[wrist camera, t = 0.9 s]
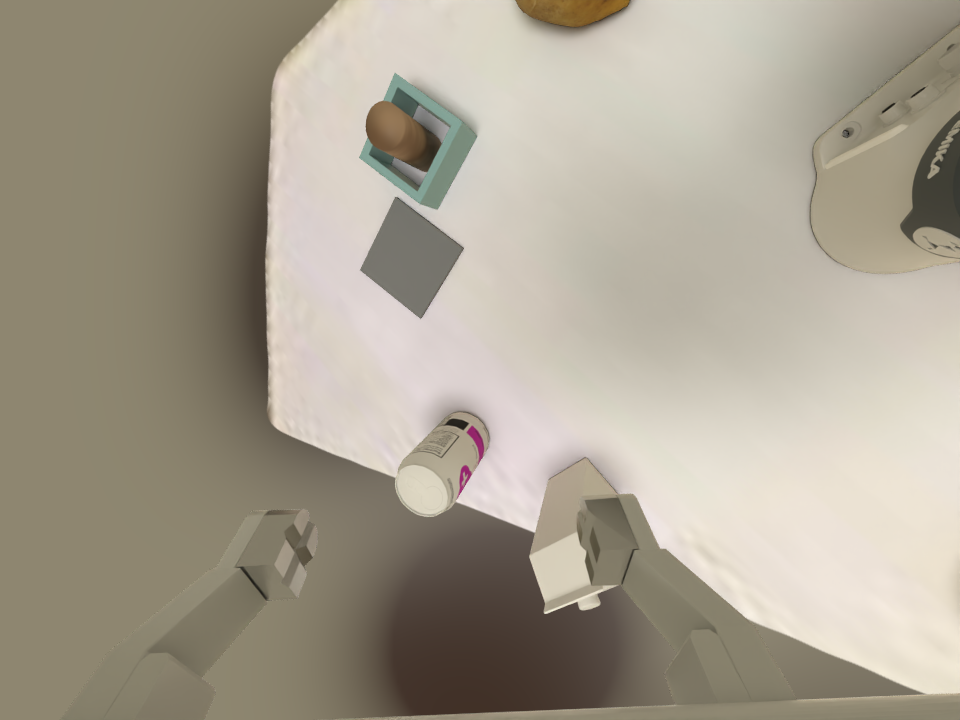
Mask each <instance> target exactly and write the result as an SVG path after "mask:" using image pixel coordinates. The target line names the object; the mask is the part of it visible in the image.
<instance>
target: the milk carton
mask: <svg viewBox="0 0 960 720" xmlns="http://www.w3.org/2000/svg"><path fill="white" fill-rule="evenodd" d="M607 494H614V495H616V494H617V493H616V492H615V491H614V489H613V488H612V487H611V486H610V485H609V484H608V482H607V481H606V480H605V479H604V478H603V477H602V476H601V474H600V473H599V472H598V471H597V470H596V469H595V467H594V466H593V465H592V464H591V463H590V462H589V460H588V459H587V458H584V459H582V460H581V461H579V462H577V463H576V464H574V465H572V466H571V467H569V468H567V469H566V470H564V471H562V472H561V473H559V474H557V475H556V476H554V477H553V478H551V479H549V480H548V483H547V487H546V491H545V496H544V500H543V504H542V508H541V512H540V516H539V520H538V524H537V528H536V532H535V536H534V540H533V544H532V548H531V552H530V556H529V557H530V560H531V563H532V566H533V569H534V572H535V575H536V578H537V580H538V584H539V586H540V589H541V592H542V595H543V598H544V601H545V608H544V613H545V614H547V613H549V612H552V611H554V610H557V609H559V608H562V607H564V606H567V605H569V604H572V603H575V602H578V605H579V608H580V609H581V610H587V609H592V608H595V607H597V606H599V605H600V600H599V598H598V595H597V593H600V592H603V591H605V590H607V589H610V588H612V587H615V586H618V585H607V586H591V583H590V579H589V575H588V572H587V568H586V564H585V557H586V551H585V550H584V549H583V548H582V547H581V546H580V542H579V538H578V533H577V522H576V519H577V513H578V512H579V511H580V510H581V509H580V506H579V500H580V497H581V496H591V495H607Z"/></svg>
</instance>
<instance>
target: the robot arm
mask: <svg viewBox="0 0 960 720" xmlns="http://www.w3.org/2000/svg"><path fill="white" fill-rule="evenodd" d="M844 130H848V131H849V136H848V138H844V137H843V136H842V132H843V131H844ZM813 157H814V163H815V167H816V171H817V181H816V186H815V190H814V194H813V197H812V203H811V224H812V229H813V232H814V235H815V237H816V239H817V241H818V243H819V244H820V246H821V247H822V248H823V250H824V251H825V252H826V253H827V254H828V255H829V256H830V257H832V258H833V259H834V260H836V261H837V262H839V263H841V264H843V265H845V266H847V267H849V268H852V269H855V270H858V271H862V272H868V273H876V274H894V273H904V272H910V271H914V270H919V269H923V268H927V267H931V266H936V265H943V264H949V263H955V262H960V25H958V26H957V27H956V28H955V29H953V30H952V31H951V32H950V33H949V34H947V35H946V36H945V37H944V38H942V39H941V40H940V41H939V42H937V43H936V44H935V45H934V46H932V47H931V48H930V49H929V50H927V51H926V52H925V53H924V54H922V55H921V56H920V57H919V58H917V59H916V60H915V61H914V62H912V63H911V64H910V65H909V66H907V67H906V68H905V69H904V70H902V71H901V72H900V73H899V74H897V75H896V76H895V77H894V78H892V79H891V80H890V81H889V82H887V83H886V84H885V85H884V86H883V87H881V88H880V89H879V90H878V91H876V92H875V93H874V94H873V95H871V96H870V97H869V98H868V99H866V100H865V101H864V102H863V103H861V104H860V105H859V106H858V107H856V108H855V109H854V110H853V111H851V112H850V113H849V114H848V115H846V116H845V117H844V118H843V119H841V120H840V121H839V122H838V123H836V124H835V125H834V126H833V127H831V128H830V129H829V130H828V131H826V132H825V133H824V134H823V135H822V136H821V137H819V139H818V140H817V141H816V143H815V145H814V148H813ZM579 506H580V509H581V510H580V511H579V512H578V513H577V519H576V522H577V533H578V538H579V542H580V546H581V547H582V548H583V549H584V550H585V551H586V557H585V564H586V568H587V572H588V575H589V579H590V583H591V586H607V585H622V588H623V589H624V590H625V592H626V593H627V594H628V595H629V596H630V598H631V599H632V600H633V601H634V602H635V604H636V605H637V606H638V607H639V608H640V610H641V611H642V612H643V613H644V614H645V616H646V617H647V618H648V619H649V620H650V621H651V623H652V624H653V625H654V626H655V627H656V629H657V630H658V631H659V632H660V633H661V635H662V636H663V637H664V638H665V639H666V641H667V642H668V643H669V644H670V645H671V647H672V648H673V649H674V650H675V651H676V653H677V654H676V656H675V657H674V659H673V660H672V662H671V664H670V665H669V666H668V668H667V670H666V672H665V674H664V675H665V678H666V681H667V683H668V686H669V689H670V692H671V695H672V697H673V701H674V703H675V705H665V706H643V707H642V706H641V707H618V708H617V707H616V708H594V709H569V710H545V711H522V712H498V713H473V714H450V715H428V716H427V715H425V716H403V717H378V718H354V719H332V720H960V693H958V694H926V695H903V696H879V697H855V698H832V699H807V700H797V698H796V696H795V694H794V693H793V691H792V689H791V688H790V686H789V684H788V682H787V681H786V679H785V677H784V676H783V674H782V672H781V670H780V669H779V667H778V665H777V663H776V662H775V660H774V658H773V656H772V655H771V653H770V651H769V650H768V648H767V646H766V645H765V643H764V641H763V639H762V637H761V636H760V634H759V632H758V630H757V629H756V627H755V626H754V625H753V624H752V623H751V622H750V621H749V620H747V619H746V618H745V617H744V616H743V615H742V614H740V613H739V612H738V611H737V610H736V609H735V608H734V607H732V606H731V605H730V604H729V603H728V602H727V601H725V600H724V599H723V598H722V597H721V596H720V595H718V594H717V593H716V592H715V591H714V590H713V589H712V588H710V587H709V586H708V585H707V584H706V583H705V582H703V581H702V580H701V579H700V578H699V577H698V576H696V575H695V574H694V573H693V572H692V571H691V570H690V569H688V568H687V567H686V566H685V565H684V564H683V563H681V562H680V561H679V560H678V559H677V558H676V557H674V556H673V555H672V554H671V553H670V552H669V551H668V550H666V549H660V548H659V545H658V543H657V541H656V539H655V537H654V535H653V532H652V530H651V528H650V526H649V524H648V522H647V520H646V517H645V515H644V513H643V511H642V509H641V507H640V504H639V502H638V500H637V498H636V497H635V496H634V495H633V494H616V495H614V494H607V495H591V496H581V497H580V500H579ZM309 517H310V515H309V513H308V511H307V510H306V509H295V510H262V511H252V512H251V513H250V514H249V515H248V516H246V518H245V520H244V521H243V523H242V525H241V526H240V528H239V530H238V531H237V533H236V535H235V536H234V538H233V540H232V541H231V543H230V545H229V547H228V548H227V550H226V551H225V553H224V555H223V557H222V558H221V560H220V561H219V563H218V565H217V567H216V568H215V569H209V570H208V571H207V572H206V573H204V574H203V575H202V576H201V577H200V578H199V579H197V580H196V581H195V582H193V583H192V584H191V585H190V586H189V587H187V588H186V589H185V590H184V591H183V592H181V593H180V594H179V595H178V596H176V597H175V598H174V599H173V600H171V602H169V603H168V604H167V605H165V606H164V607H163V608H162V609H161V610H159V611H158V612H157V613H156V614H155V615H153V616H152V617H151V618H150V619H148V620H147V621H146V622H145V623H143V624H142V625H141V626H140V627H139V628H137V629H136V630H135V631H134V632H132V633H131V634H130V635H129V636H128V637H126V638H125V639H124V640H123V641H121V643H119V644H118V645H117V646H115V647H114V648H113V649H112V650H111V651H109V652H108V653H107V654H106V656H105V657H104V659H103V660H102V661H101V663H100V664H99V666H98V667H97V669H96V670H95V671H94V673H93V674H92V676H91V677H90V678H89V680H88V682H87V683H86V684H85V685H84V687H83V688H82V690H81V691H80V692H79V694H78V695H77V697H76V698H75V700H74V701H73V702H72V704H71V705H70V707H69V708H68V710H67V711H66V712H65V714H64V715H63V717H62V718H61V719H60V720H204V719H205V717H206V715H207V713H208V710H209V708H210V706H211V704H212V701H213V699H214V697H215V695H216V692H215V688H214V687H213V686H212V685H210V684H209V683H208V682H206V681H205V680H204V679H202V677H203V676H204V675H205V673H206V672H207V671H208V670H209V669H210V668H211V667H212V665H213V664H214V663H215V662H216V661H217V660H218V659H219V658H220V656H221V655H222V654H223V653H224V652H225V651H226V649H227V648H228V647H229V646H230V645H231V644H232V643H233V641H234V640H235V639H236V638H237V637H238V636H239V634H241V632H242V631H243V630H244V629H245V628H246V627H247V626H248V624H249V623H250V622H251V621H252V620H253V619H254V618H255V616H256V615H257V614H258V613H259V612H260V611H261V610H262V608H263V607H264V606H265V605H266V604H267V601H272V600H285V599H297V598H298V596H299V593H300V591H301V588H302V585H303V583H304V580H305V577H306V575H307V572H306V569H305V565H306V564H307V563H308V562H309V561H310V560H311V559H312V558H313V556H314V553H315V550H316V548H317V540H318V533H317V529H316V527H315V525H314V524H313V523H311V522H309V521H308V520H309Z"/></svg>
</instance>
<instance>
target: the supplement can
mask: <svg viewBox="0 0 960 720" xmlns="http://www.w3.org/2000/svg"><path fill="white" fill-rule="evenodd" d="M488 445H489V437H488V432H487V430H486V428H485V426H484V424H483V423H482V422H481V421H480V420H478V419H477V418H476V417H474V416H472V415H470V414H468V413H462V412H457V413H453V414H450V415H449V416H448V417H446V418H445V419H444V420H443V421H442V422H441V423H440V424H439V425H438V426H437V427H436V428H435V429H434V430H433V431H432V432H431V433H430V434H429V435H428V436H427V437H426V438H425V439H424V440H423V441H422V442H421V443H420V444H419V445H418V446H417V447H416V448H415V449H414V450H413V451H412V452H411V453H410V454H409V455H408V456H407V457H406V458H405V459H404V460H403V461H402V462H401V464H400V466H399V468H398V474H397V476H396V481H395V488H396V491H397V495H398V496H399V498H400V500H401V502H402V503H403V504H404V505H405V506H406V507H407V508H408V509H409V510H410V511H412V512H414V513H416V514H417V515H421V516H425V517H432V516H436V515H438V514H440V513H442V512H444V511H446V510H448V509H450V508H451V507H452V506H453V504H454V503H455V501H456V500H457V498H458V496H459V495H460V493H461V492H462V490H463V488H464V487H465V485H466V483H467V482H468V480H469V479H470V477H471V475H472V474H473V472H474V470H475V469H476V467H477V465H478V464H479V462H480V461H481V459H482V457H483V456H484V454H485V452H486V451H487V449H488Z"/></svg>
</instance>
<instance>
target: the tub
mask: <svg viewBox="0 0 960 720" xmlns="http://www.w3.org/2000/svg"><path fill="white" fill-rule="evenodd" d="M383 101H389V102H391V103H393V104H394V105H396V106H397V107H398V108H400V109H401V110H402V111H404V112H405V113H406V114H407V115H409V116H410V117H411V118H413V115H414V113H415V111H416V109H417V107H418V105H420V106H421V107H422V108H424V109H425V110H426V111H428V112H429V113H431V114H432V115H433V116H435V117H436V118H437V119H439V120H440V121H442V122H443V123H444V124H446V125H447V126H448V127H450V129H449V131H448V133H447V135H446V137H445V139H444V141H443V143H442V145H441V147H440V149H439V150H438V152H437V154H436V156H435V158H434V160H433V162H432V164H431V166H430V168H429V170H428V172H427V174H426V176H425V178H424V180H423V182H422V184H421V186H418V185H417V184H416V183H414V182H413V181H412V180H410V179H409V178H408V177H406V176H405V175H404V174H402V173H401V172H400V171H398V170H397V169H396V168H394V167H393V166H392V165H391V163H392V161H393V159H394V157H393V156H391V155H389V154H388V153H386V152H384V151H382V150H380V149H378V148H376V147H375V146H373V145H372V143H371V142H370V141H369V139H368V138H367V141H366V143H365V145H364V148H363V150H362V152H361V155H360V157H359V158H360V159H361V160H363V161H364V162H365V163H367V164H368V165H369V166H371V167H372V168H373V169H375V170H376V171H377V172H379V173H380V174H381V175H382V176H384V177H385V178H386V179H388V180H389V181H390V182H392V183H393V184H394V185H396V186H397V187H398V188H400V189H401V190H402V191H403V192H405V193H406V194H407V195H409V196H410V197H411V198H413V199H414V200H415V201H417V202H418V203H419V204H421V205H425V206H428V207H431V208H434V209H438V208H439V206H440V204H441V202H442V200H443V198H444V197H445V195H446V193H447V191H448V189H449V187H450V186H451V184H452V182H453V180H454V178H455V176H456V174H457V173H458V171H459V169H460V167H461V165H462V163H463V162H464V160H465V158H466V156H467V154H468V152H469V151H470V149H471V147H472V145H473V143H474V141H475V140H476V138H477V136H476V135H475V134H474V133H473V132H472V131H471V130H470V129H469V128H468V127H467V126H466V125H465V124H464V123H463V122H462V121H461V120H460V119H458V118H457V117H455V116H454V115H453V114H451V113H450V112H449V111H447V110H446V109H444V108H443V107H442V106H440V105H439V104H437V103H436V102H435V101H433V100H432V99H430V98H429V97H428V96H426V95H425V94H424V93H422V92H421V91H419V90H418V89H417V88H415V87H414V86H412V85H411V84H410V83H408V82H407V81H406V80H404V79H403V78H401V77H400V76H399V75H397V74H396V73H395V74H394V76H393V79H392V81H391V83H390V86H389V88H388V91H387V93H386V95H385V98H384V100H383Z"/></svg>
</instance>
